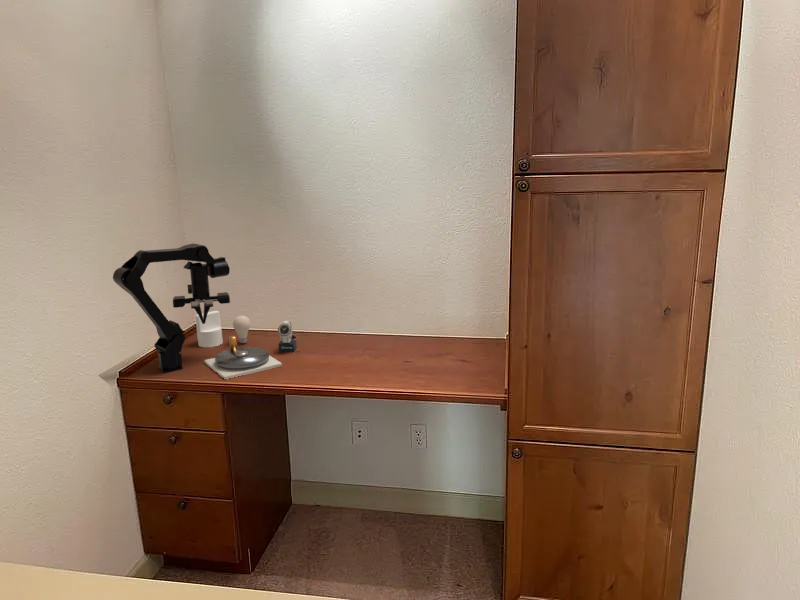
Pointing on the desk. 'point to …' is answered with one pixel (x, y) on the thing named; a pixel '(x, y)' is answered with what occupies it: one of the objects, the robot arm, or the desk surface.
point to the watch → (286, 337)
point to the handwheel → (241, 356)
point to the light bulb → (242, 327)
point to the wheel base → (233, 373)
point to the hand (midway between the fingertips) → (203, 323)
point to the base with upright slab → (209, 330)
